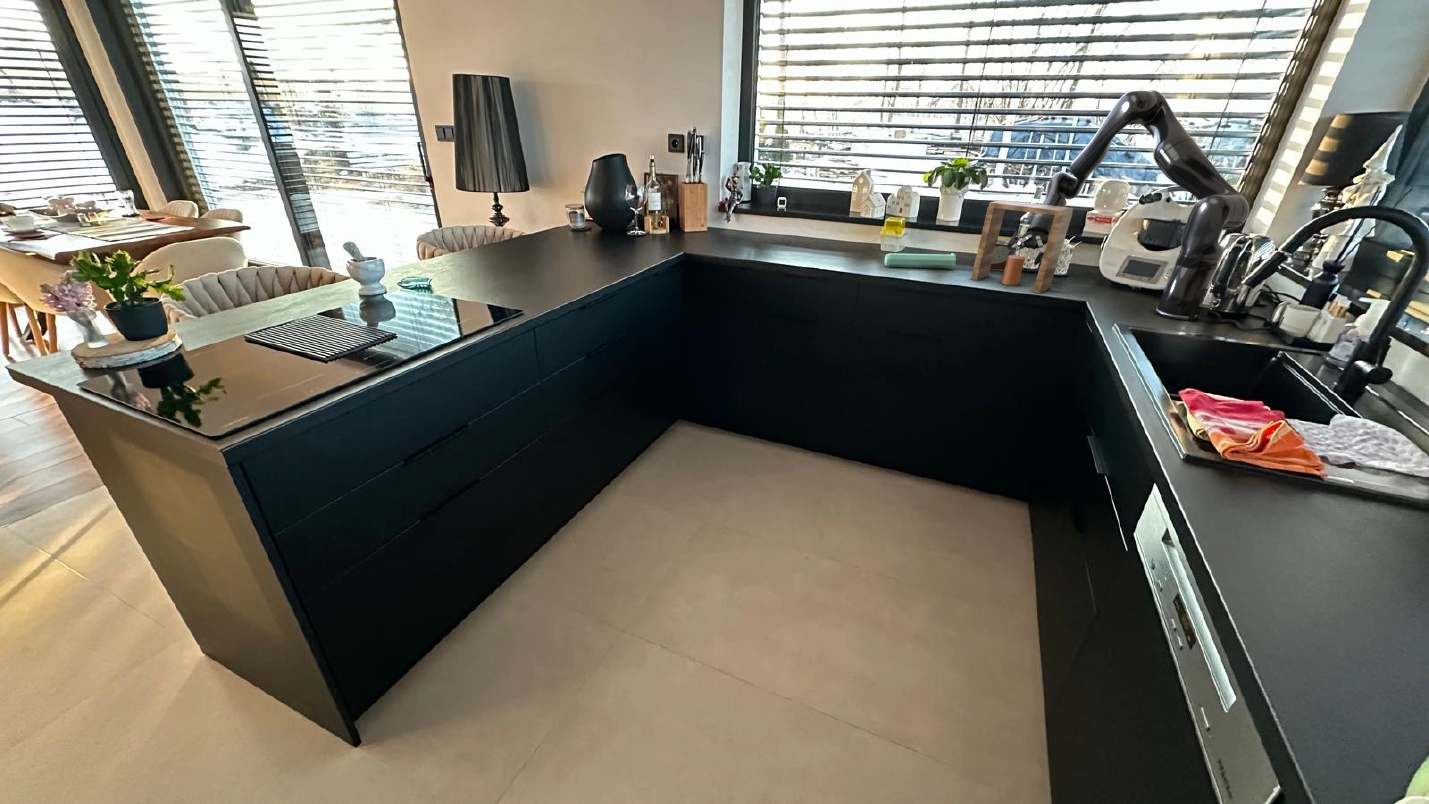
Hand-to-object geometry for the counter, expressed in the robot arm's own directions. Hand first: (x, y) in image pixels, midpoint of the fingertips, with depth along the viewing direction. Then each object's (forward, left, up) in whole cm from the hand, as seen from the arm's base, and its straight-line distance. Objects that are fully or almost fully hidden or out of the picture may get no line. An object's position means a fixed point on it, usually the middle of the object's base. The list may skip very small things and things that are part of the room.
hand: (1022, 261), depth 191 cm
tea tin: (0, +7, -7) cm, 10 cm away
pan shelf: (0, +7, -7) cm, 10 cm away
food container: (+14, -10, -7) cm, 18 cm away
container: (+32, +11, -7) cm, 34 cm away
